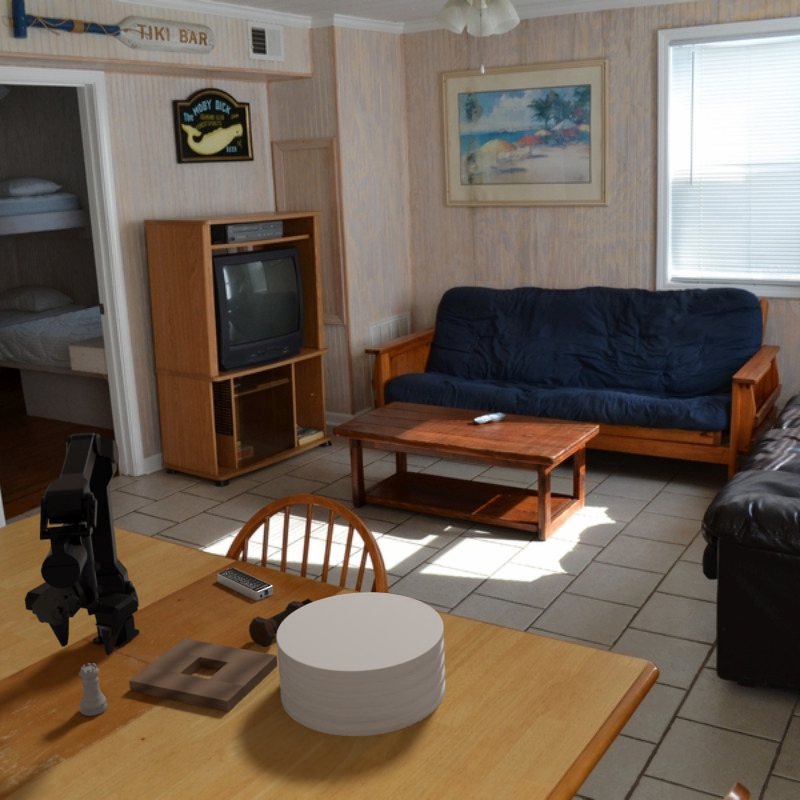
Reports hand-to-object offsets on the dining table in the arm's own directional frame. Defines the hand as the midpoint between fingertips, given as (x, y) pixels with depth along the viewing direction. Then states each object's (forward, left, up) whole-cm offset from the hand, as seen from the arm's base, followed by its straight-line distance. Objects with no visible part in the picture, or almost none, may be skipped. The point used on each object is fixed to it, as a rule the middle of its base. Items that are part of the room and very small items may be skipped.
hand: (86, 649), depth 162 cm
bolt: (+17, +36, -12) cm, 41 cm away
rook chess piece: (0, 0, -11) cm, 11 cm away
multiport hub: (-1, +50, -12) cm, 51 cm away
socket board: (+12, +15, -11) cm, 22 cm away
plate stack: (+40, +21, -11) cm, 47 cm away
